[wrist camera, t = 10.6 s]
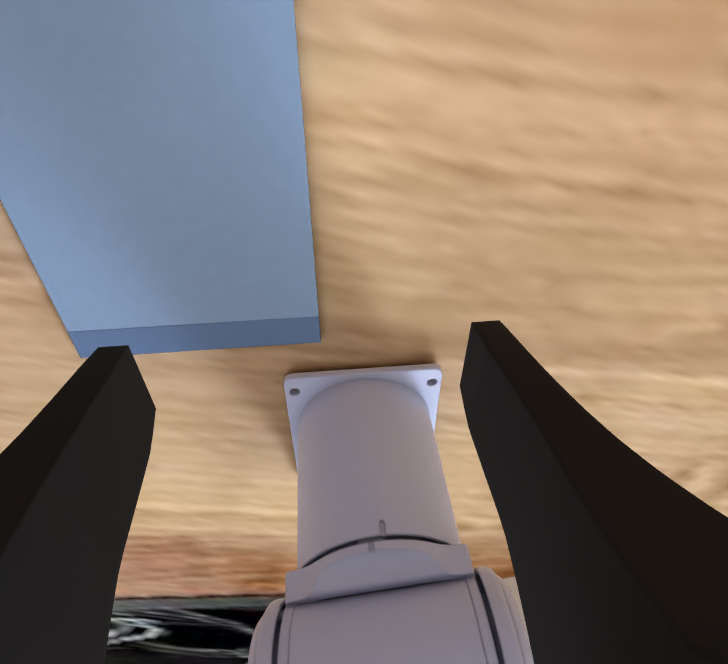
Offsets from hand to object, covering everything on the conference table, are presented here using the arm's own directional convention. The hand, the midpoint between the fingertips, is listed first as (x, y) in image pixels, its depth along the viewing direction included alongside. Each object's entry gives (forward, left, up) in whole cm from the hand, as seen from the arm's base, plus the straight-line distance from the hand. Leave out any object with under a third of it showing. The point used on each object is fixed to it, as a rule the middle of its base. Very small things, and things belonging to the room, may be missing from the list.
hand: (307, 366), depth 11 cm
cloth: (+1, +5, -10) cm, 12 cm away
